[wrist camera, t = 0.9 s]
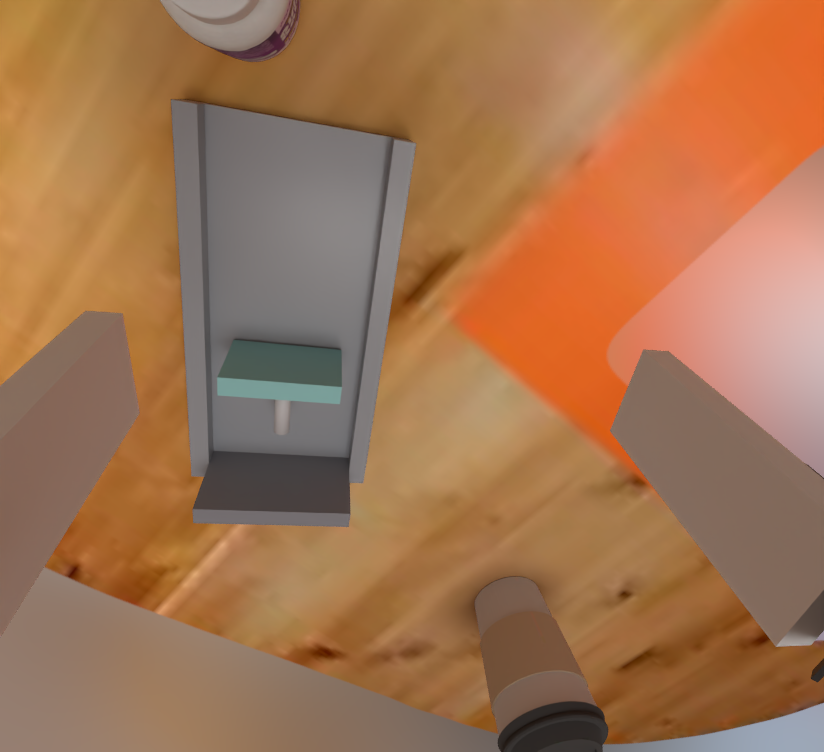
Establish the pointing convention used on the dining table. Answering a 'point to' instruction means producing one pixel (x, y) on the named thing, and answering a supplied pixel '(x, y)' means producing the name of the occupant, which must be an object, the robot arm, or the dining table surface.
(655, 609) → the dining table surface
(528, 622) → the coffee cup
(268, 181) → the lane
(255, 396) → the pusher
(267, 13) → the pill bottle
